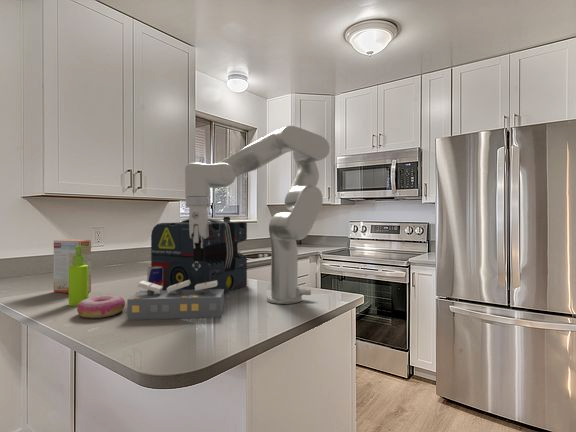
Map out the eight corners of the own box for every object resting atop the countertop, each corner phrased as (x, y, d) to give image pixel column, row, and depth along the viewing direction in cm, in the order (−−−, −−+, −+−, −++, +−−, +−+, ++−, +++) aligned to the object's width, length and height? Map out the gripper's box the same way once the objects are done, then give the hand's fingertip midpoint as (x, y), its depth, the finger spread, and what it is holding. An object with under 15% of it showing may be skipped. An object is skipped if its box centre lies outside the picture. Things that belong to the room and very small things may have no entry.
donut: (107, 306, 120) (107, 291, 120) (134, 311, 114) (134, 296, 114) (67, 316, 108) (67, 300, 108) (95, 323, 102) (95, 305, 102)
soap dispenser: (94, 303, 124) (93, 245, 124) (71, 306, 119) (71, 247, 119) (88, 300, 128) (88, 244, 128) (66, 303, 123) (66, 246, 123)
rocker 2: (190, 283, 114) (189, 279, 114) (188, 285, 110) (187, 281, 110) (170, 289, 113) (169, 285, 113) (167, 292, 109) (166, 288, 109)
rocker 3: (217, 283, 115) (217, 279, 115) (216, 286, 111) (215, 282, 111) (197, 287, 114) (196, 283, 114) (195, 290, 110) (194, 286, 110)
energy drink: (158, 303, 124) (157, 268, 124) (144, 302, 125) (144, 268, 125) (166, 299, 130) (166, 266, 129) (152, 298, 131) (152, 266, 131)
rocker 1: (162, 290, 113) (163, 285, 113) (158, 292, 109) (160, 288, 109) (141, 284, 112) (142, 279, 112) (137, 286, 108) (139, 282, 109)
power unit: (150, 293, 140) (150, 217, 140) (194, 281, 165) (194, 216, 165) (210, 300, 129) (209, 217, 129) (247, 285, 155) (247, 216, 154)
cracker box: (92, 291, 143) (91, 239, 143) (78, 294, 137) (78, 240, 137) (67, 289, 148) (66, 238, 148) (52, 292, 142) (52, 239, 142)
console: (223, 306, 119) (223, 284, 119) (220, 317, 107) (220, 292, 107) (140, 309, 116) (140, 286, 116) (127, 320, 104) (127, 294, 104)
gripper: (207, 202, 105) (208, 264, 105) (212, 203, 120) (213, 257, 120) (181, 202, 104) (182, 264, 105) (189, 203, 119) (191, 258, 120)
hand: (199, 260), depth 112 cm, fingers closed
